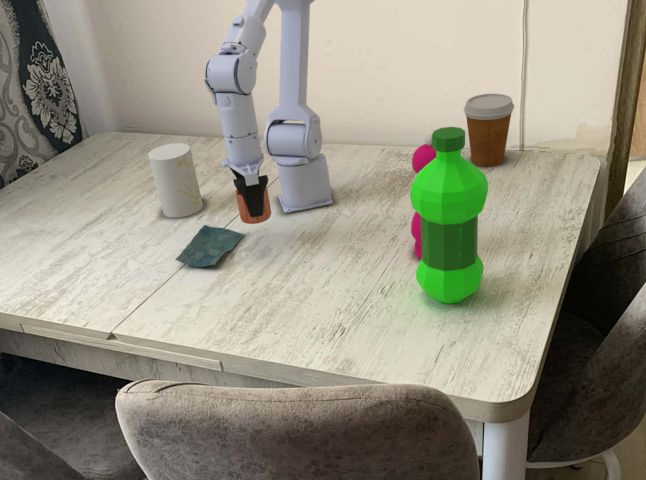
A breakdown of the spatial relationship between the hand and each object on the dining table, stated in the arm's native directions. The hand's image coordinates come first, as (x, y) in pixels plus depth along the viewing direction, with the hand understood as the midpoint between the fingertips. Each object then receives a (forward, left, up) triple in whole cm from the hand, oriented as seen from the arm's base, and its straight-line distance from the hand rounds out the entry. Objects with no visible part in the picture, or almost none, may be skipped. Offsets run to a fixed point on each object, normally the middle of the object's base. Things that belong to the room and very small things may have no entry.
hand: (254, 208), depth 126 cm
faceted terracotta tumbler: (0, 0, -2) cm, 2 cm away
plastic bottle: (-25, +28, -7) cm, 38 cm away
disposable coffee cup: (-49, -16, -7) cm, 52 cm away
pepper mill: (-27, +15, -7) cm, 32 cm away
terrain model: (+9, -1, -7) cm, 12 cm away
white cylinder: (+13, -22, -7) cm, 27 cm away
